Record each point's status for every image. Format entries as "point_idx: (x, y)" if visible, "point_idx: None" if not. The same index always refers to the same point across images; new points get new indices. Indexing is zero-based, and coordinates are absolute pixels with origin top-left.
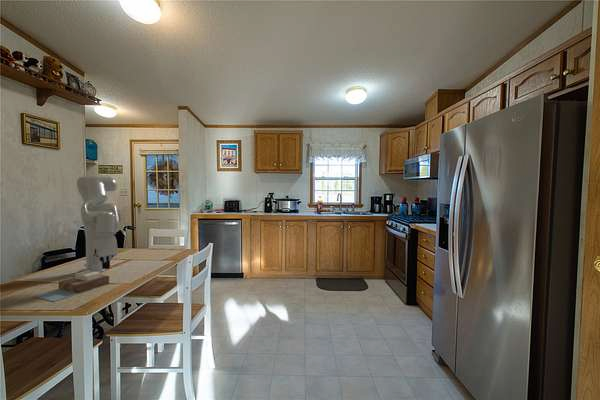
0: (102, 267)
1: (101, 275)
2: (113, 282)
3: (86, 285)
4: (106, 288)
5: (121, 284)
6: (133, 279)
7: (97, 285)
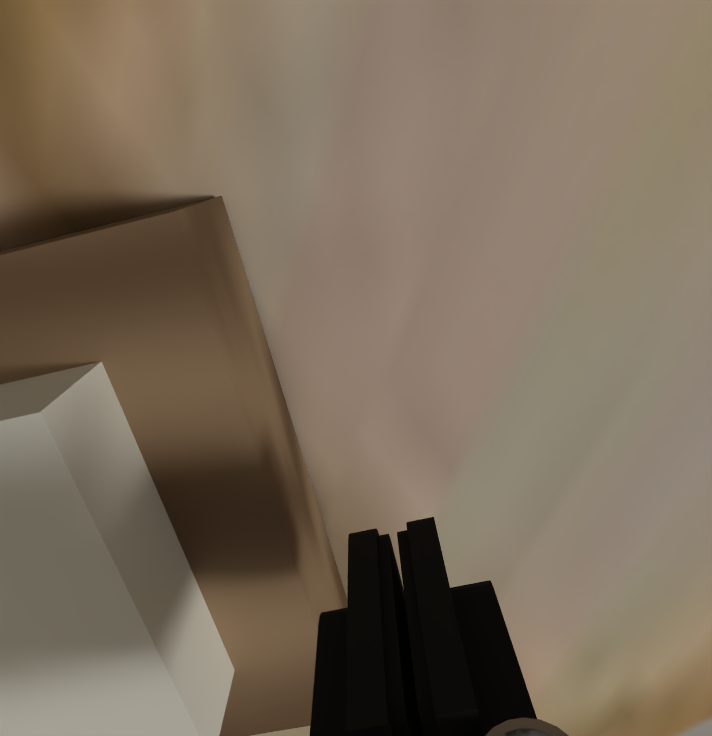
0: (324, 623)
1: (276, 600)
2: None
3: None
4: None
5: None
6: (631, 662)
7: None
